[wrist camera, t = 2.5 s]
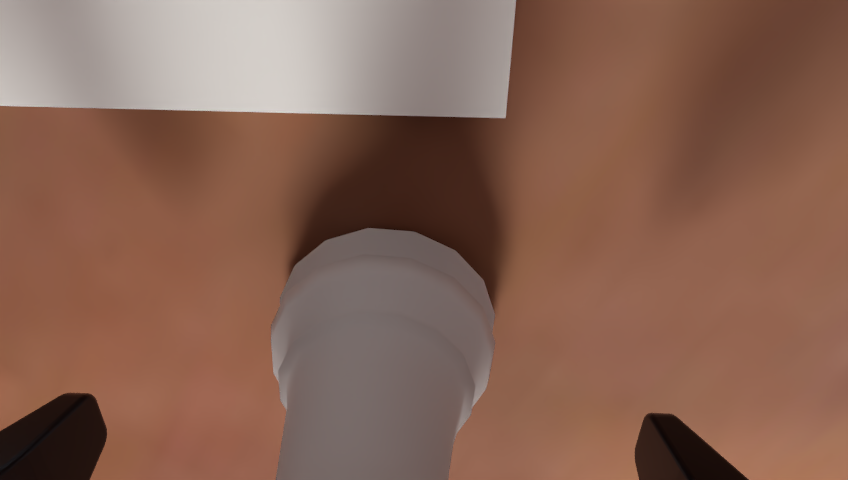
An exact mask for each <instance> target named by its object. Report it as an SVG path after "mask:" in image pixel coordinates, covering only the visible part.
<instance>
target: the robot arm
mask: <svg viewBox="0 0 848 480" xmlns="http://www.w3.org/2000/svg"><path fill="white" fill-rule="evenodd" d="M106 438H107V429H106V425H105V423H104V420H103V417H102V414H101V412H100V409H99V406H98V403H97V400H96V398H95V397H94V396H93V395H92V394H88V393H66V394H63V395H61V396H59V397H57V398H56V399H54V400H52V401H50V402H49V403H47V404H45V405H44V406H42V407H40V408H39V409H37V410H35V411H34V412H32V413H30V414H29V415H27V416H25V417H23V418H22V419H20V420H18V421H17V422H15V423H13V424H12V425H10V426H8V427H7V428H5V429H3V430H2V431H0V480H90V478H91V475H92V473H93V471H94V468H95V466H96V464H97V461H98V459H99V457H100V454H101V452H102V450H103V448H104V445H105V442H106ZM635 463H636V467H637V472H638V476H639V480H749V479H747V478H746V477H745V476H744V475H743V474H742V473H740V472H739V471H738V470H737V469H736V468H735V467H734V466H732V465H731V464H730V463H729V462H728V461H727V460H726V459H724V458H723V457H722V456H721V455H720V454H719V453H718V452H716V451H715V450H714V449H713V448H712V447H711V446H710V445H708V444H707V443H706V442H705V441H704V440H703V439H702V438H700V437H699V436H698V435H697V434H696V433H695V432H694V431H692V430H691V429H690V428H689V427H688V426H687V425H685V424H684V423H683V422H682V421H681V420H680V419H679V418H677V417H676V416H674V415H672V414H664V413H649V414H647V415H646V416H645V417H644V420H643V423H642V426H641V430H640V433H639V437H638V440H637V443H636V447H635Z"/></svg>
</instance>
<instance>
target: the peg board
mask: <svg viewBox="0 0 848 480" xmlns="http://www.w3.org/2000/svg"><path fill="white" fill-rule="evenodd" d="M515 7H516V0H0V106H30V107H71V108H111V109H152V110H193V111H233V112H274V113H315V114H355V115H396V116H436V117H477V118H506V108H507V97H508V85H509V74H510V63H511V52H512V41H513V30H514V18H515Z"/></svg>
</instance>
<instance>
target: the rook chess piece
mask: <svg viewBox="0 0 848 480" xmlns="http://www.w3.org/2000/svg"><path fill="white" fill-rule="evenodd" d="M494 318H495V313H494V310H493V307H492V304H491V301H490V298H489V295H488V292H487V289H486V286H485V283H484V280H483V279H482V278H481V277H480V276H479V275H478V274H477V273H476V272H475V270H474V269H473V268H472V267H471V266H470V265H469V264H468V263H467V262H466V261H465V260H464V259H463V258H462V257H461V256H460V255H459V253H458V252H457V251H456V250H454V249H451V248H449V247H447V246H445V245H443V244H441V243H438V242H436V241H434V240H432V239H430V238H428V237H425V236H423V235H421V234H419V233H417V232H414V231H401V230H388V229H376V228H366V229H363V230H359V231H356V232H352V233H349V234H345V235H342V236H338V237H335V238H331V239H328V240H325V241H324V242H323V243H322V244H320V245H319V246H318V247H317V248H315V249H314V250H313V251H312V252H310V253H309V254H308V255H307V256H306V257H304V258H303V259H302V260H301V261H299V262H298V263H297V264H296V265H295V266H294V268H293V270H292V272H291V275H290V277H289V279H288V281H287V283H286V286H285V288H284V290H283V292H282V294H281V297H280V307H279V309H278V311H277V314H276V316H275V318H274V320H273V322H272V324H271V346H272V359H273V372H274V375H275V376H276V378H277V380H278V381H279V389H280V400H281V402H282V404H283V405H284V407H285V409H286V410H287V411H286V418H285V424H284V431H283V437H282V443H281V450H280V456H279V462H278V469H277V475H276V480H448V476H449V469H450V462H451V455H452V448H453V443H454V440H455V437H456V434H457V432H458V431H459V430H460V428H461V427H462V426H463V424H464V423H465V422H466V420H467V419H468V418H469V416H470V415H471V411H472V407H473V406H474V404H475V403H476V402H477V400H478V399H479V398H480V396H481V395H482V394H483V392H484V391H485V390H486V387H487V383H488V380H489V376H490V371H491V365H492V359H493V353H494V347H495V340H494V337H493V334H492V330H493V324H494Z"/></svg>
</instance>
